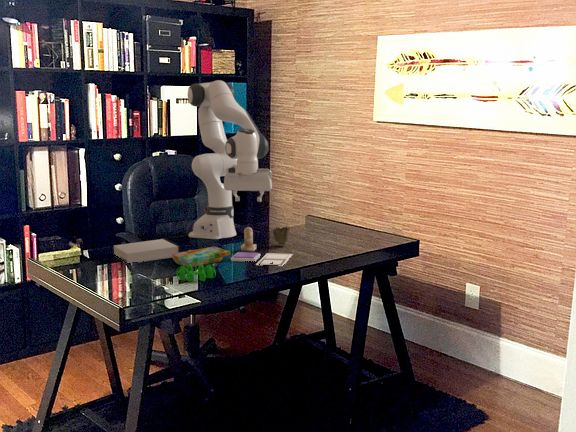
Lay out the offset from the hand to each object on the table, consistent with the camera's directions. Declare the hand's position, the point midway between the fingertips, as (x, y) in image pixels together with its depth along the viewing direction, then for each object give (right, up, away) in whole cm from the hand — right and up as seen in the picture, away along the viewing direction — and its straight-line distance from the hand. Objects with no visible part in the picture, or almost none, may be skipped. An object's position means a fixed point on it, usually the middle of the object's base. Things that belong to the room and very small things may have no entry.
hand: (248, 201), depth 275 cm
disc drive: (-42, -23, -2) cm, 48 cm away
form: (+11, -24, -12) cm, 29 cm away
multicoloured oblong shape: (-18, -25, -13) cm, 34 cm away
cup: (+14, -20, +11) cm, 26 cm away
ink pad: (0, -24, -10) cm, 26 cm away
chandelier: (-17, -29, -36) cm, 50 cm away
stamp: (0, -21, +4) cm, 21 cm away
